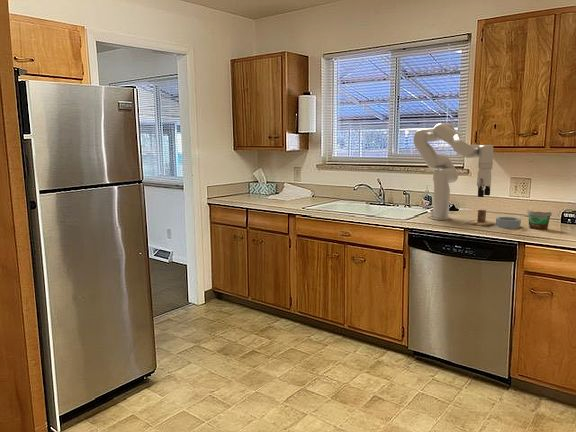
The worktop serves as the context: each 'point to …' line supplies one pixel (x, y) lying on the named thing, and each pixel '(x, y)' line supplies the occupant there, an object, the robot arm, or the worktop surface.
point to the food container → (539, 220)
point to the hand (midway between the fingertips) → (483, 196)
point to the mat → (481, 226)
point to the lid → (481, 219)
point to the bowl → (508, 222)
